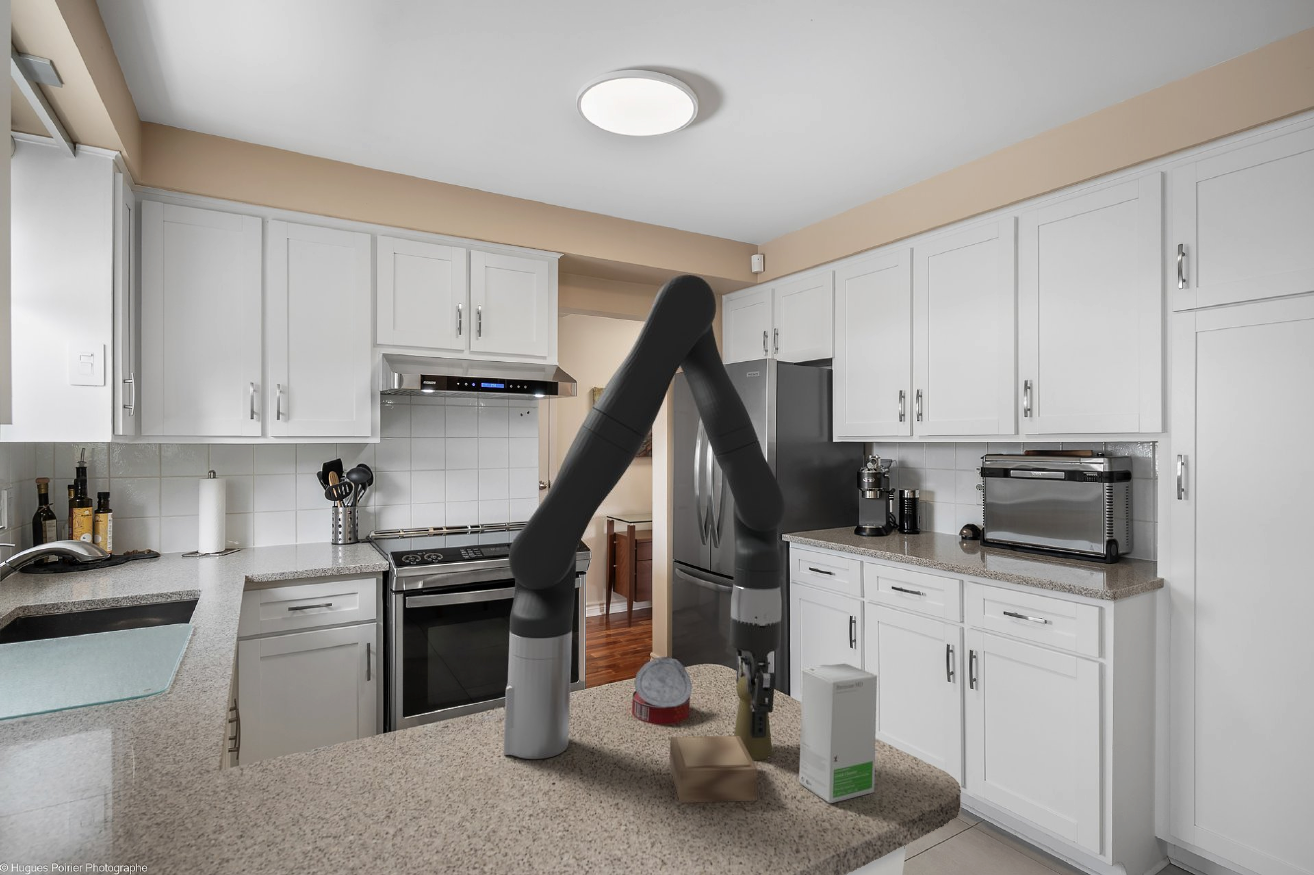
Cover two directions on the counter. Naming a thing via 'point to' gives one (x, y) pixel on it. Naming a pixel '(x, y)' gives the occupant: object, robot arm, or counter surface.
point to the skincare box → (838, 731)
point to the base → (712, 769)
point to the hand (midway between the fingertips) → (752, 727)
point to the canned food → (662, 692)
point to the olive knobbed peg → (754, 746)
